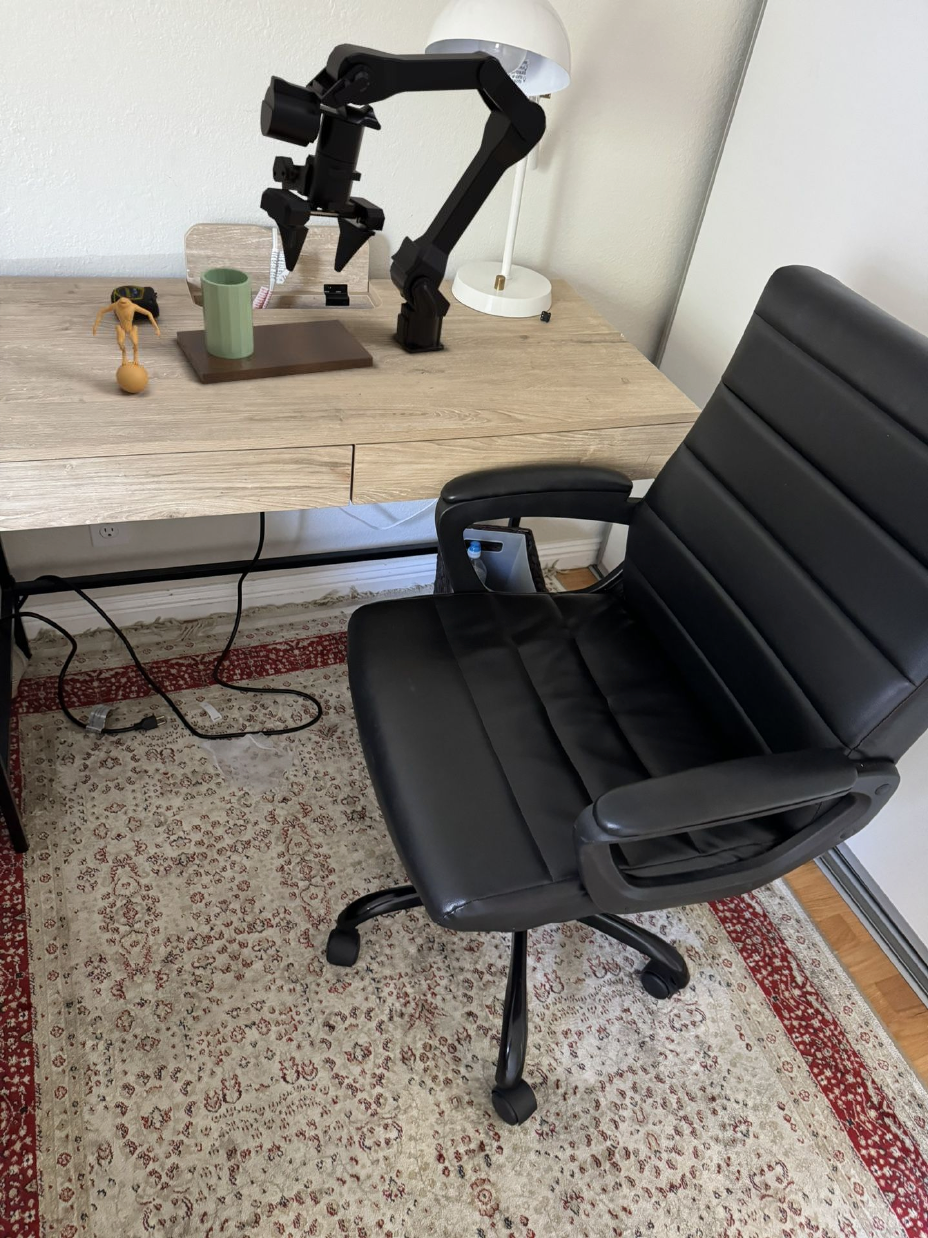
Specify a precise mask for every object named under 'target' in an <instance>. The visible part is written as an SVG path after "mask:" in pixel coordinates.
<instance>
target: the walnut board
mask: <svg viewBox="0 0 928 1238" xmlns="http://www.w3.org/2000/svg"><path fill="white" fill-rule="evenodd" d="M253 329H254V351H253V353H252V354H251V355H249V356H247V357H243V358H238V359H227V358H221V357H217V356H214V355H212V354H211V353H209V352H208V351H207V349H206V343H205V331H204V329H193V330H181V331H180V330H179V331H176V339H177V340H176V341H177V342H178V344H179V346H180V348H181V350H182V351H183V352H184V354H185V356H186V358H187V359H188V361H189V362H190V364H191V366H192V368H193V370H194V371H195V373H196V374H197V376H198V378H199V379H200V381H201V382H202V384H203V385H205V384H213V383H214V384H215V383H222V382H224V383H225V382H232V381H242V380H243V381H244V380H253V379H263V378H271V377H280V376H290V375H291V376H292V375H301V374H310V373H319V372H329V371H338V370H347V369H357V368H366V367H367V368H369V367H373V362H374V357H373V355H372V354H371V353H370V352H369V351H368V350H367V349H366V347H364V346H363V344H362V343H361V342H360V341H359V339H357V338H356V336H354V334H352V332H351V331H350V330H349V329H348V328H347V327H346V326H345V325H344V324H343V323H342V322H341V320H340V319H327V320H314V321H299V322H286V323H273V324H261V325H253Z"/></svg>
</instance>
